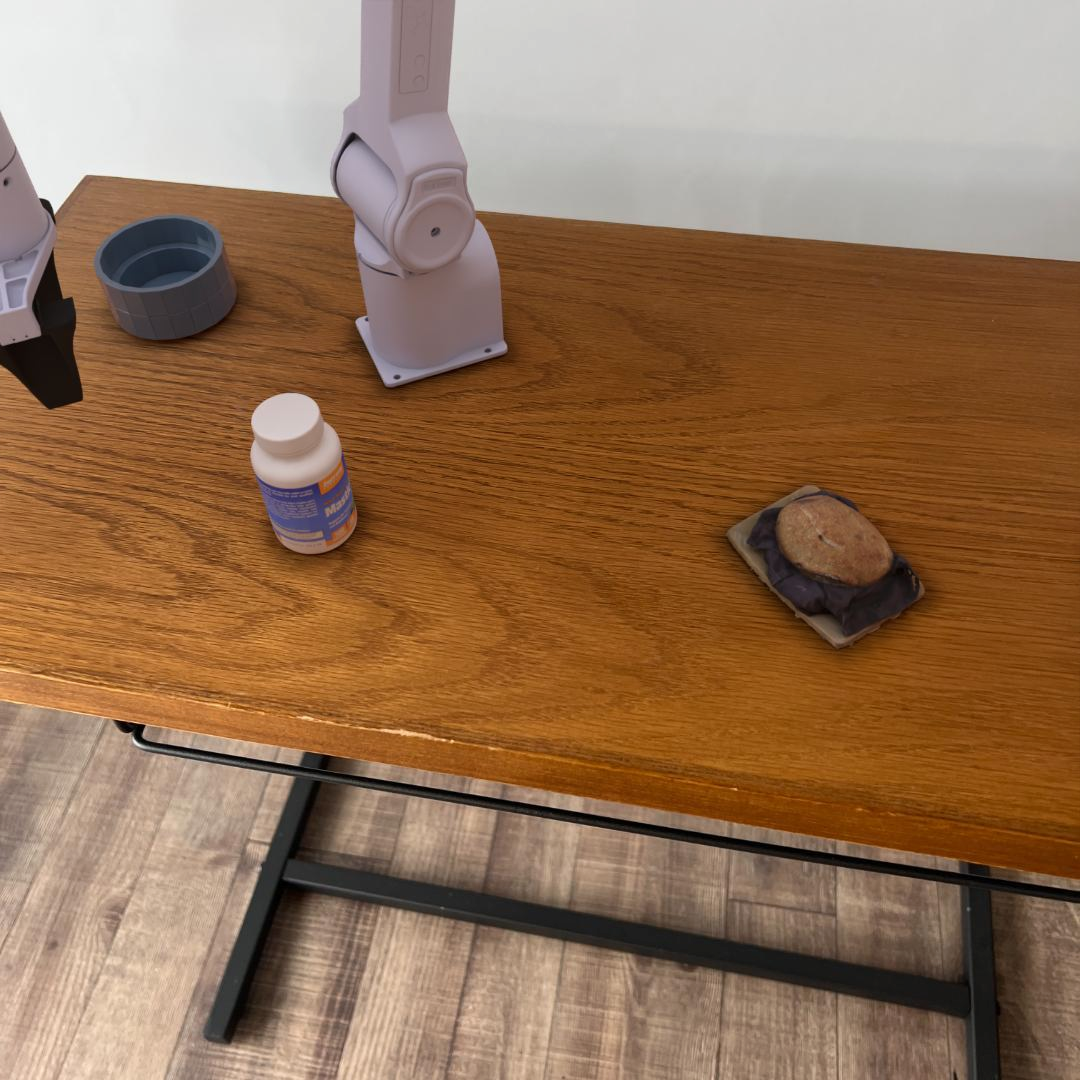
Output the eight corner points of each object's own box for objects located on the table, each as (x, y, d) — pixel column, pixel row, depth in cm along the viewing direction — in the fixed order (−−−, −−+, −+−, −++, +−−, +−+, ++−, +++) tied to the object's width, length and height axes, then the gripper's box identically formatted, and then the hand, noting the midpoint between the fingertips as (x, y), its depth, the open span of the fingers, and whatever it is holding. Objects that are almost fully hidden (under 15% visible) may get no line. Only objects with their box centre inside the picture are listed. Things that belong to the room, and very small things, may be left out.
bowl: (223, 256, 88) (207, 202, 84) (250, 325, 83) (235, 271, 79) (106, 286, 86) (85, 232, 82) (126, 358, 80) (104, 305, 77)
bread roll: (716, 540, 69) (722, 502, 66) (817, 485, 71) (827, 446, 68) (830, 658, 63) (842, 622, 60) (935, 593, 66) (952, 556, 63)
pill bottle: (351, 557, 68) (324, 451, 61) (267, 556, 68) (229, 449, 61) (364, 493, 72) (340, 384, 64) (283, 491, 72) (249, 383, 64)
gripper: (-129, 108, 58) (-21, 308, 69) (-122, 260, 50) (-1, 460, 61) (6, 80, 60) (91, 279, 71) (35, 222, 52) (126, 424, 62)
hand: (57, 361), depth 66 cm, fingers open, 7 cm apart
